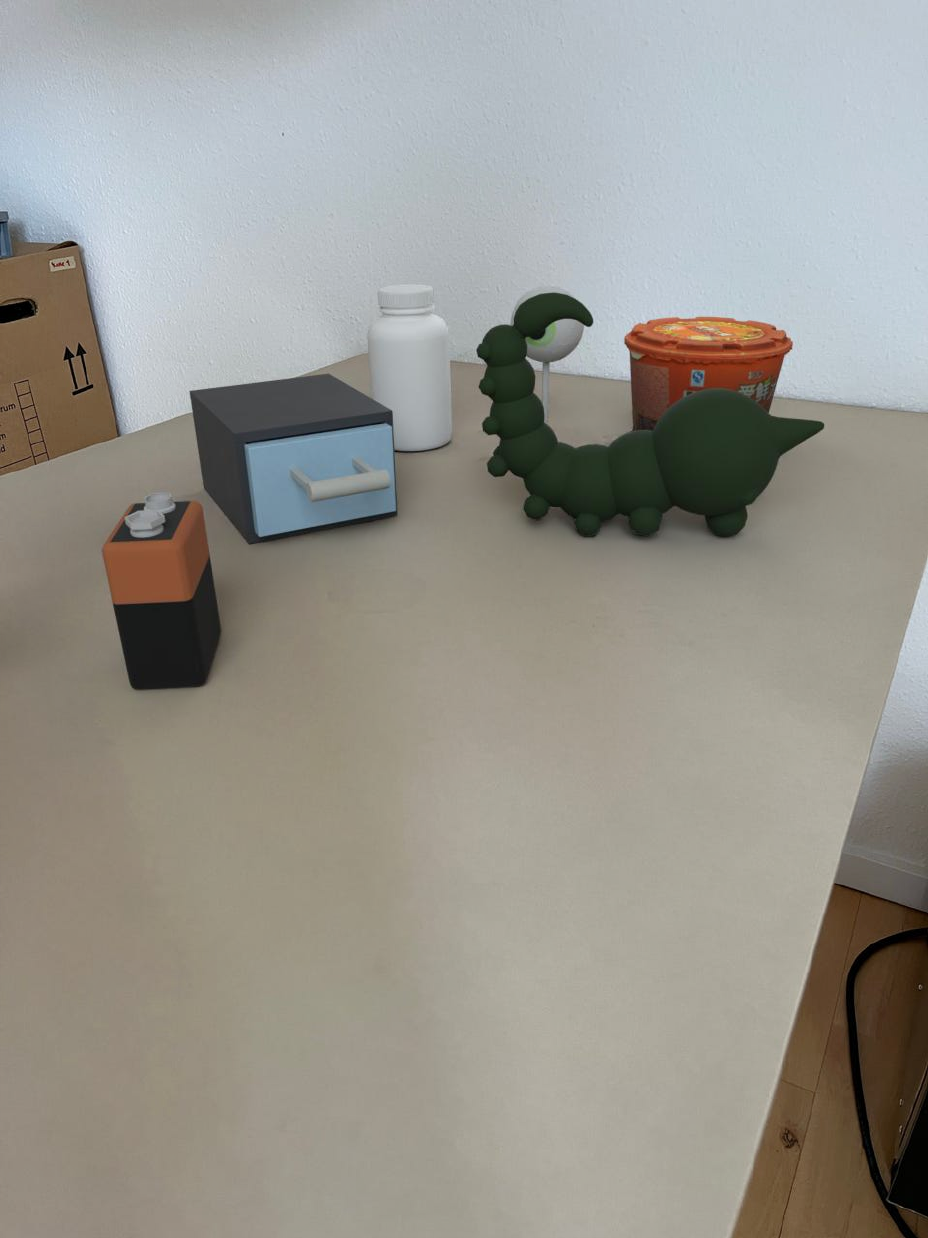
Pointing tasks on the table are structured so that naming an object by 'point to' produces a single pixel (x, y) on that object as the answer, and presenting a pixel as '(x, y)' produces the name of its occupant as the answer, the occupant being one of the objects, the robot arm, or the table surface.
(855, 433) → the table surface
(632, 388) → the food container
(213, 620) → the battery
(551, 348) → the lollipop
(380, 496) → the drawer
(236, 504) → the dark grey box
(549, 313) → the toy figurine
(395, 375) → the pill bottle
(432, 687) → the table surface
